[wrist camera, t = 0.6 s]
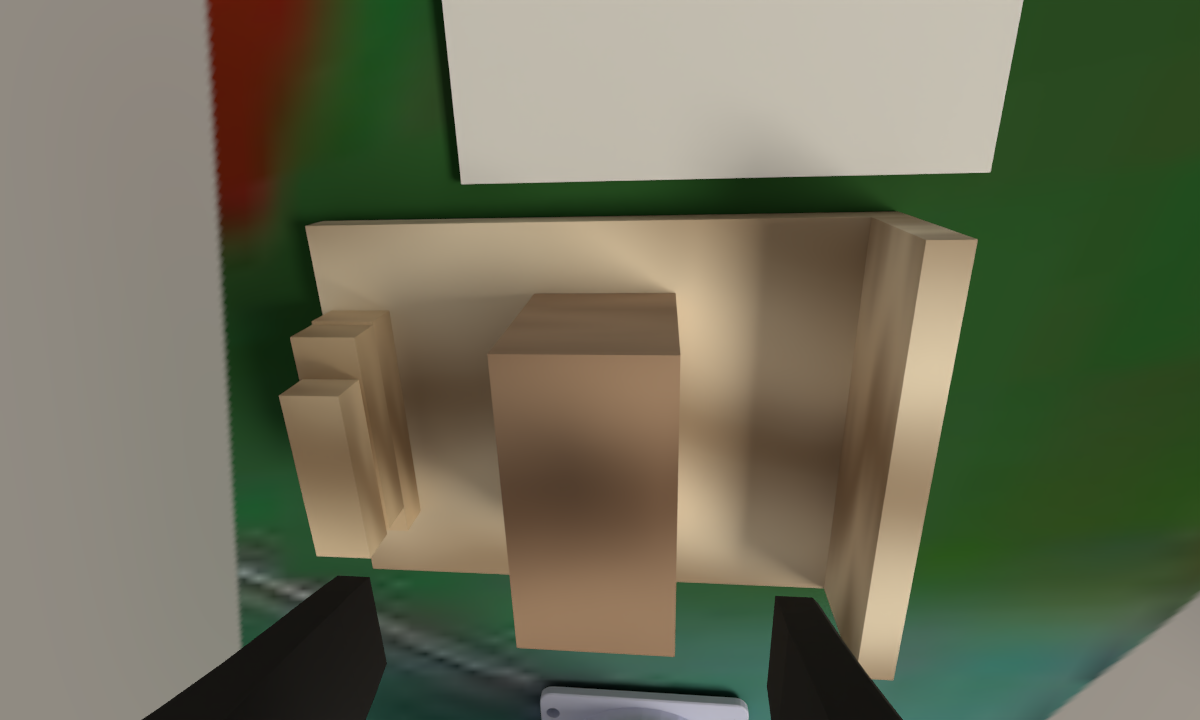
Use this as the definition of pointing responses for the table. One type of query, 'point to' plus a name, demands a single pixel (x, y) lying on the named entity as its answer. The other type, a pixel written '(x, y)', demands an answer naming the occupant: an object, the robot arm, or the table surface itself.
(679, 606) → the table surface
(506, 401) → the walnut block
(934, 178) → the table surface
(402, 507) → the offcut stack
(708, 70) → the grey mat
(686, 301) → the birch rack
